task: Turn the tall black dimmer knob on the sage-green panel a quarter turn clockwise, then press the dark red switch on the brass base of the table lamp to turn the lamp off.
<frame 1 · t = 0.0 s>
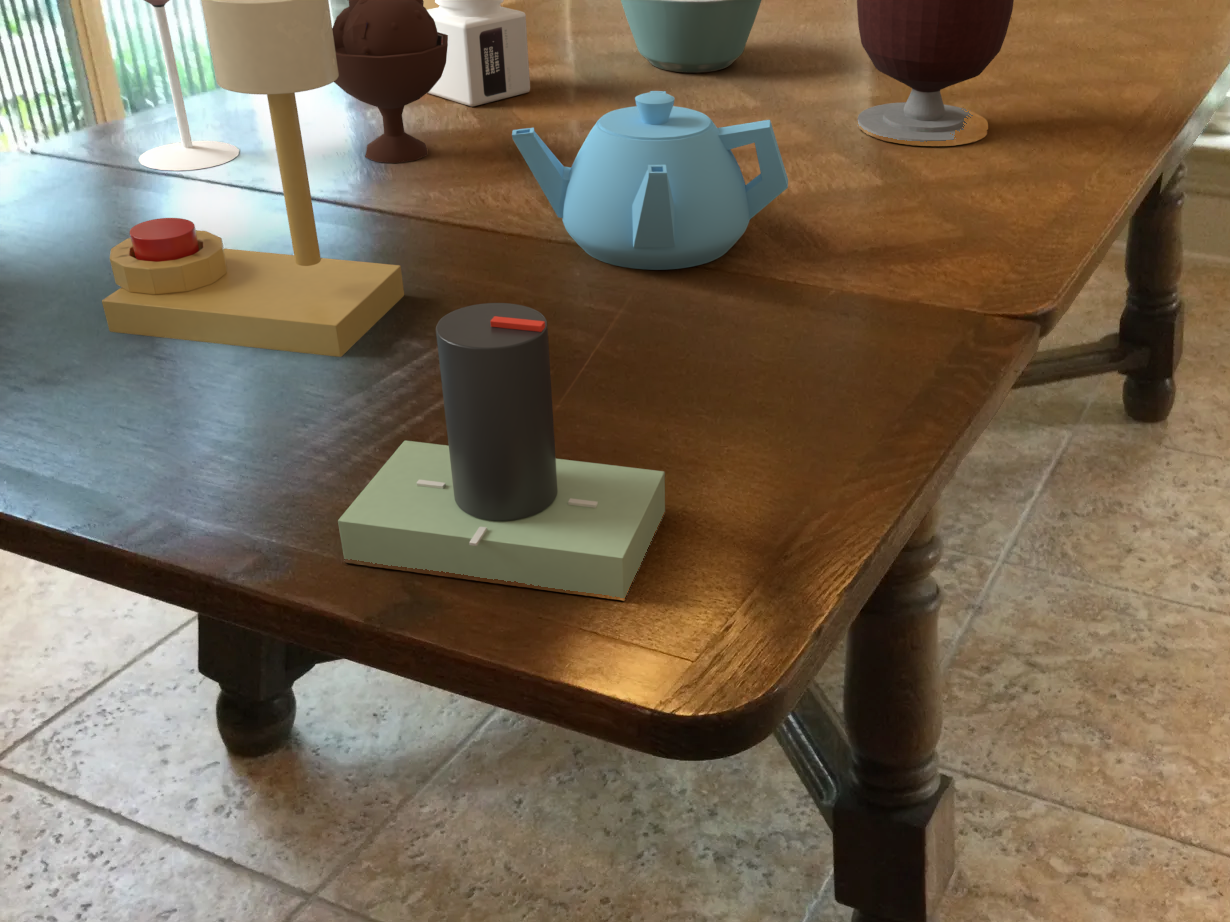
dimmer knob: (499, 409, 63), point 7 cm above the table, hinge at 0.0°
wineglass: (189, 157, 117), on the table
teapot: (653, 243, 101), on the table
lamp base: (261, 313, 89), on the table
dimmer panel: (510, 537, 67), on the table
container: (477, 94, 134), on the table
lamp: (308, 261, 86), resting on lamp base
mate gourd: (929, 128, 127), on the table
ice cream bowl: (396, 155, 118), on the table
lamp switch: (165, 241, 88), point 4 cm above the table, slide at 0.1 cm
bowl: (690, 64, 145), on the table
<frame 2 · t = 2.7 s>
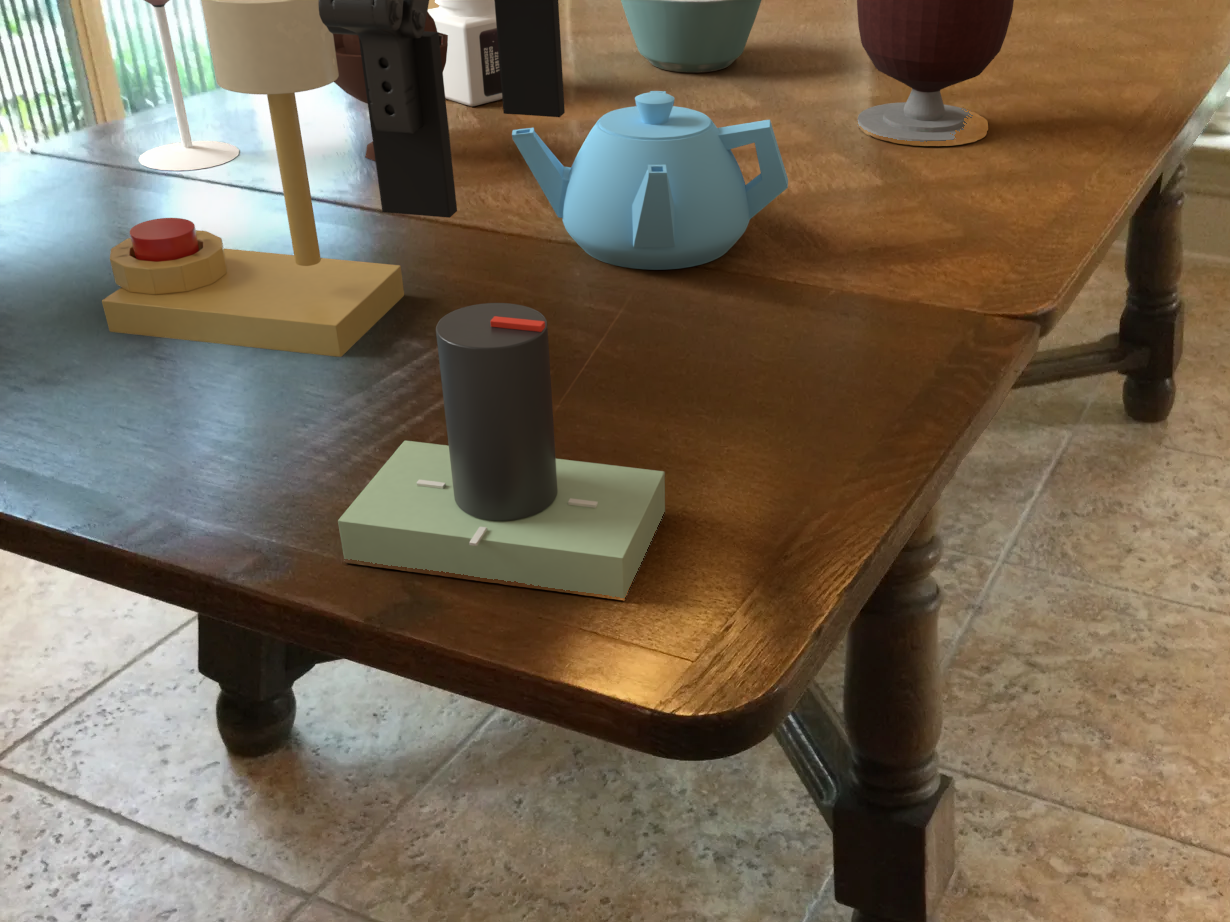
hand: (482, 158, 57), 19 cm above the table, tool pointing down, fingers open, 13 cm apart
nothing on the table moved.
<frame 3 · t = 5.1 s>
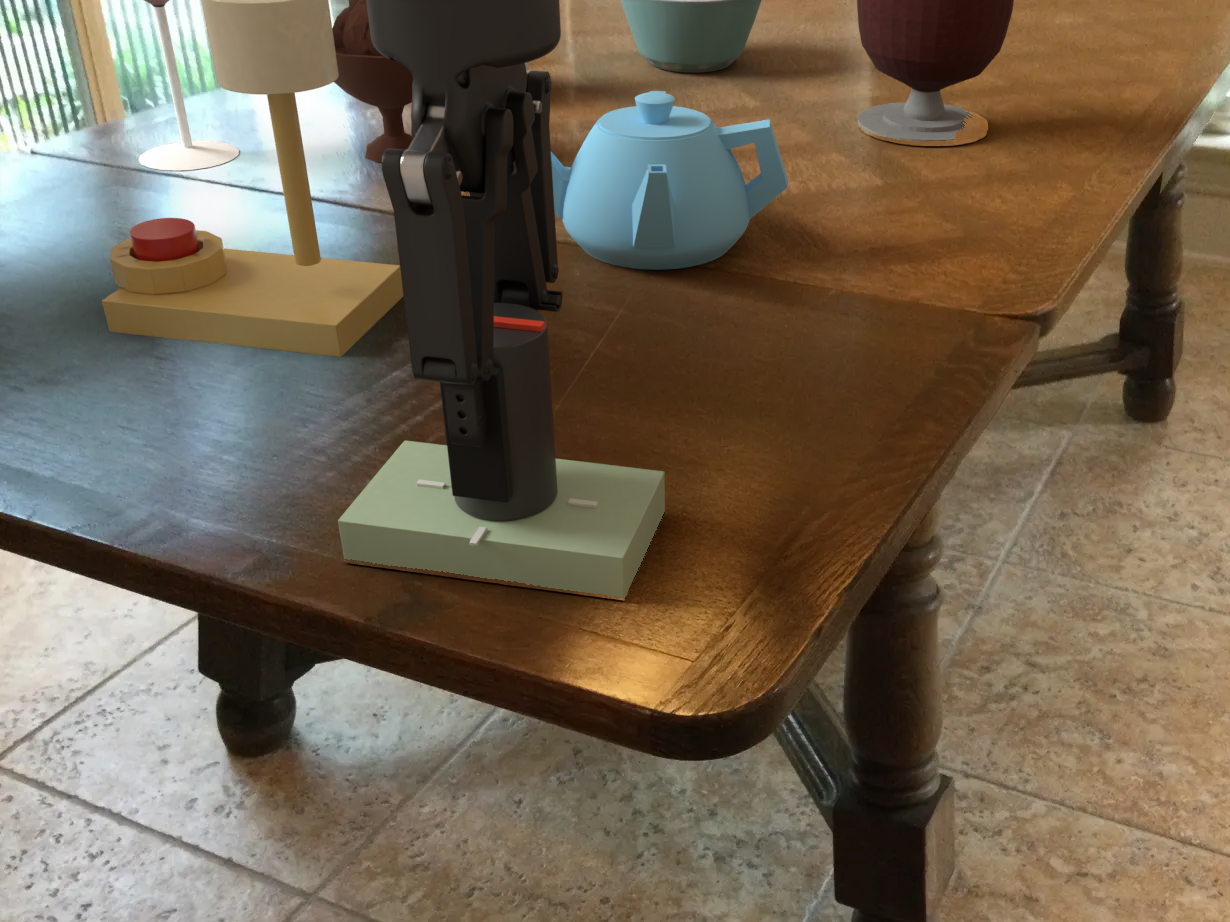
hand: (503, 463, 65), 4 cm above the table, tool pointing down, fingers closed on dimmer knob, 5 cm apart
dimmer knob: (499, 409, 63), point 7 cm above the table, hinge at -0.1°, touching gripper
everything else where it was.
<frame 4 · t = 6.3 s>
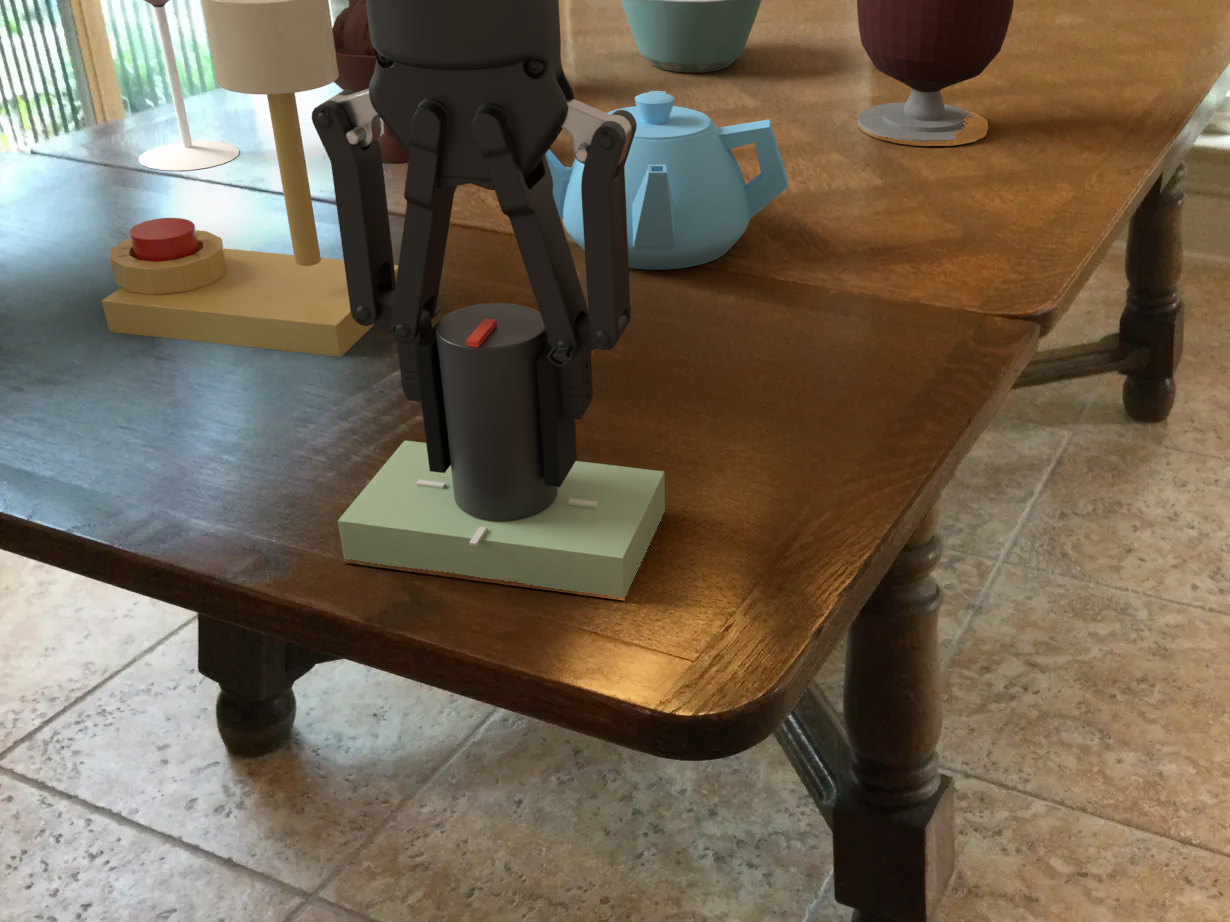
hand: (503, 464, 65), 4 cm above the table, tool pointing down, fingers closed on dimmer knob, 5 cm apart
dimmer knob: (499, 409, 63), point 7 cm above the table, hinge at -89.8°, touching gripper
everything else where it was.
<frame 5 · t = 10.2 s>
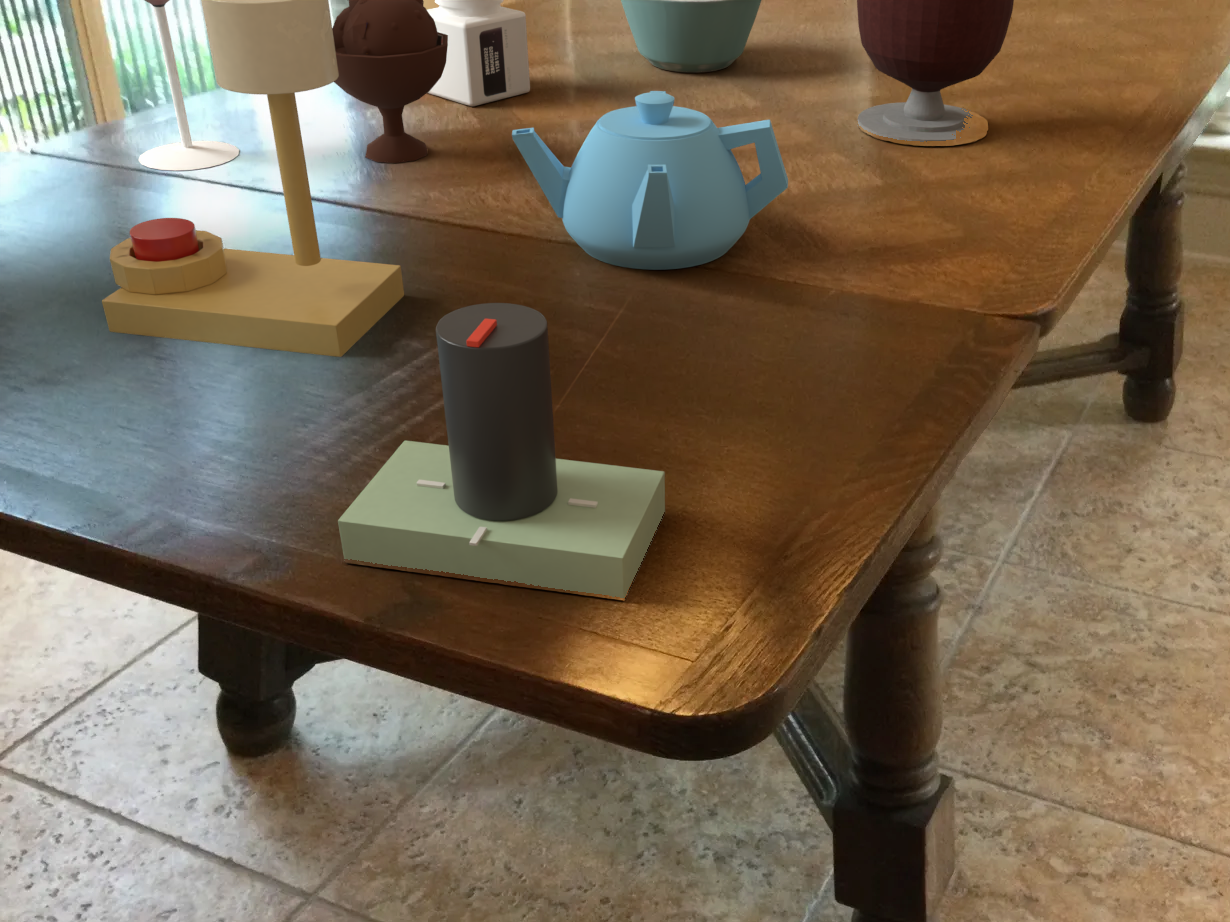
dimmer knob: (499, 409, 63), point 7 cm above the table, hinge at -89.7°
everything else where it was.
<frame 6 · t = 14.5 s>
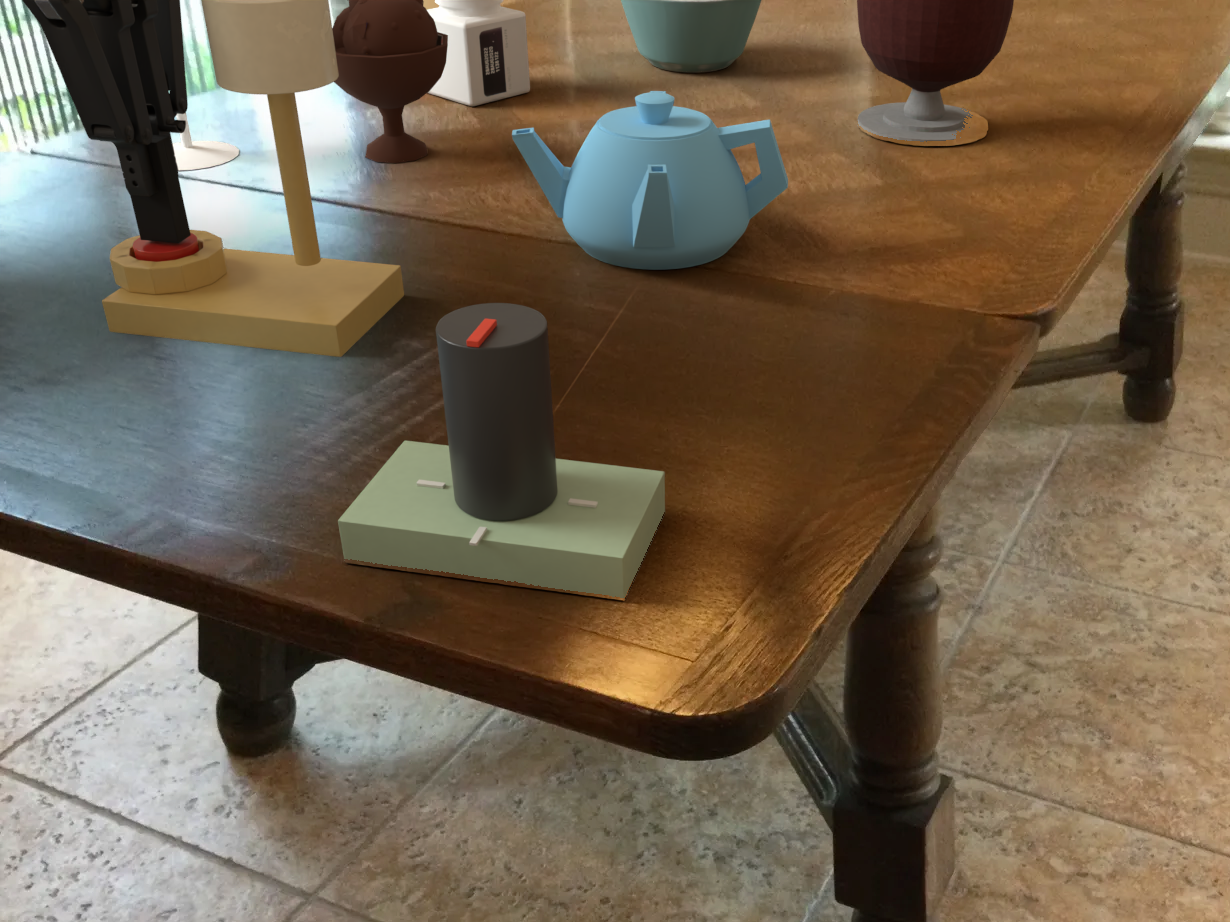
hand: (165, 237, 88), 5 cm above the table, tool pointing down, fingers closed
lamp switch: (167, 253, 88), point 4 cm above the table, slide at -0.8 cm, touching gripper
everything else where it was.
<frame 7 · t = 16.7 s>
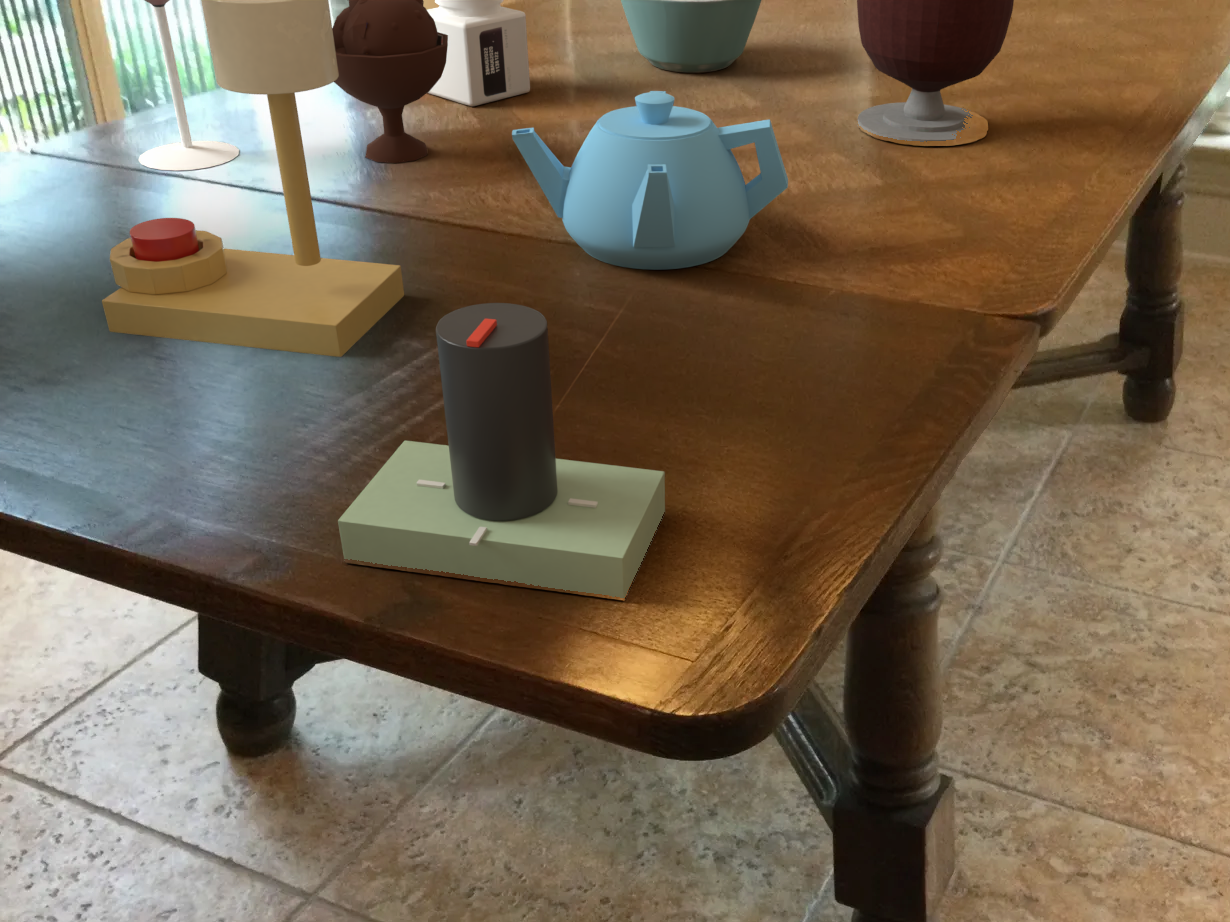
lamp switch: (165, 241, 88), point 4 cm above the table, slide at 0.1 cm
everything else where it was.
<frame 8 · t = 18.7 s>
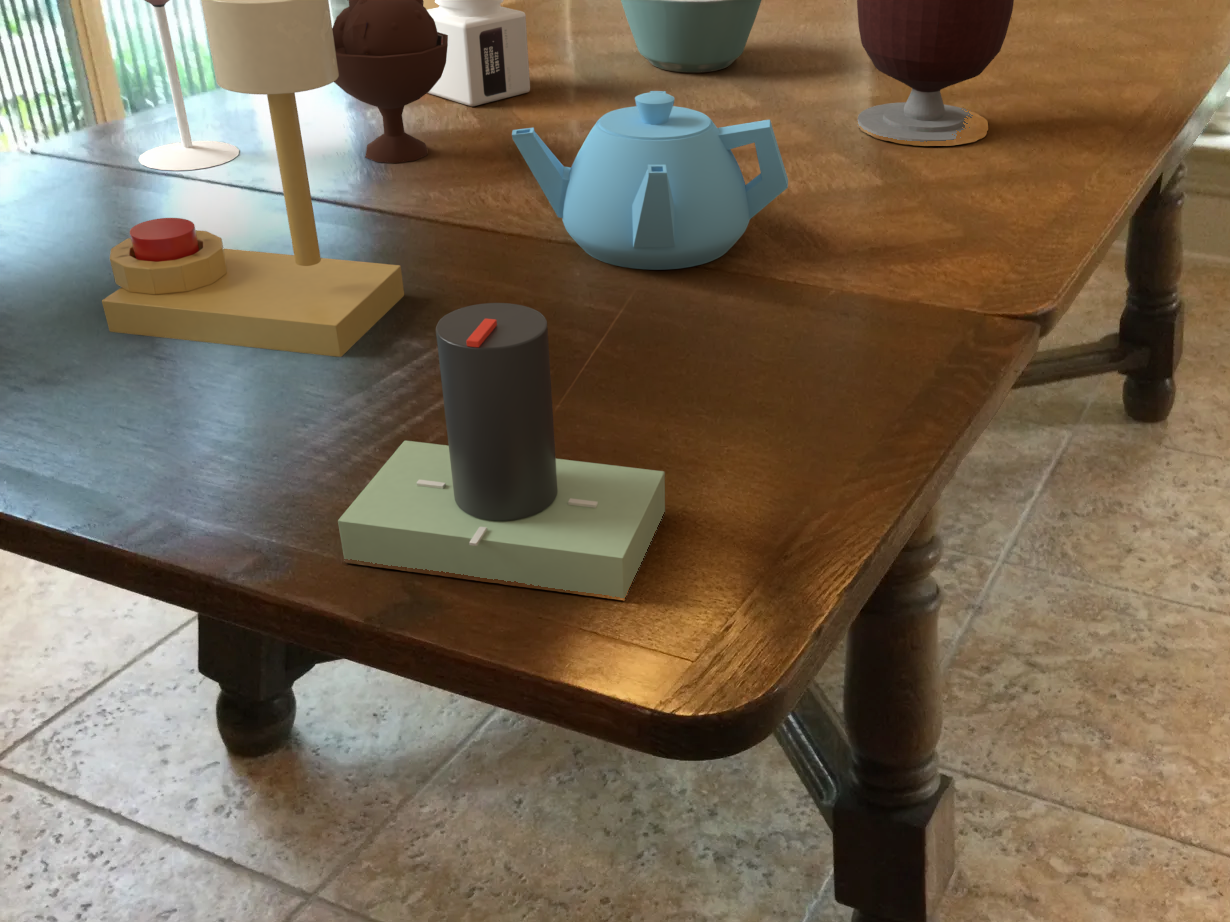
nothing on the table moved.
at the end: dimmer knob at -90° (first picture: +0°); lamp switch pushed in 1.0 cm at the most during the clip, back to where it started at the end; lamp switch slide at 0.1 cm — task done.
